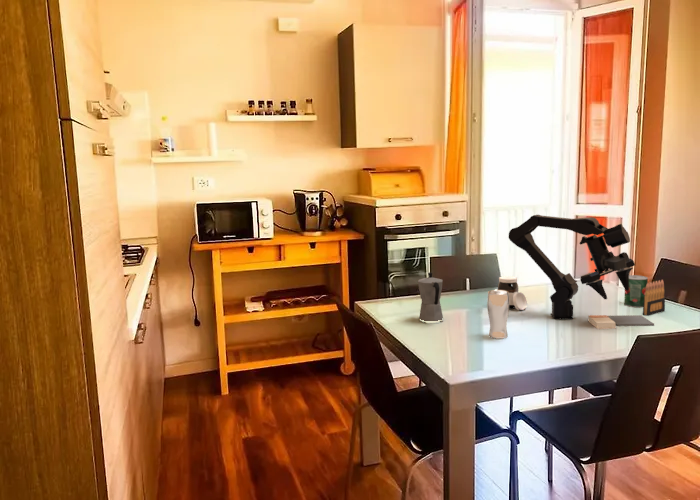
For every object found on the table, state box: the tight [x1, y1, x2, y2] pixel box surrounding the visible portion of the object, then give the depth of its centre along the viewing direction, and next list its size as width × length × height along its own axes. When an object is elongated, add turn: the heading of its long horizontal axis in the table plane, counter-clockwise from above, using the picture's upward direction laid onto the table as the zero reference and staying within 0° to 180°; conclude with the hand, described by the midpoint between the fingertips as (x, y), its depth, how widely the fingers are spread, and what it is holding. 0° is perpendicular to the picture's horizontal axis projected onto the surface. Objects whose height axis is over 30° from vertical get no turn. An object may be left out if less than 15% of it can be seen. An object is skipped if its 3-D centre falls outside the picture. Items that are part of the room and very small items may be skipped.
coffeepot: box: [417, 272, 444, 321], centre depth 206 cm, size 15×9×18 cm, turn 10°
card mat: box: [607, 314, 655, 327], centre depth 198 cm, size 12×11×1 cm
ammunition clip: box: [642, 279, 666, 317], centre depth 206 cm, size 11×2×12 cm, turn 120°
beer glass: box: [486, 289, 510, 340], centre depth 185 cm, size 7×7×15 cm
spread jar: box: [497, 275, 528, 311], centre depth 222 cm, size 12×11×12 cm
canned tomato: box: [623, 274, 649, 308], centre depth 218 cm, size 8×8×11 cm
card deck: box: [588, 314, 617, 330], centre depth 195 cm, size 6×9×2 cm, turn 174°
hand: (616, 294), depth 193 cm, fingers open, 9 cm apart
